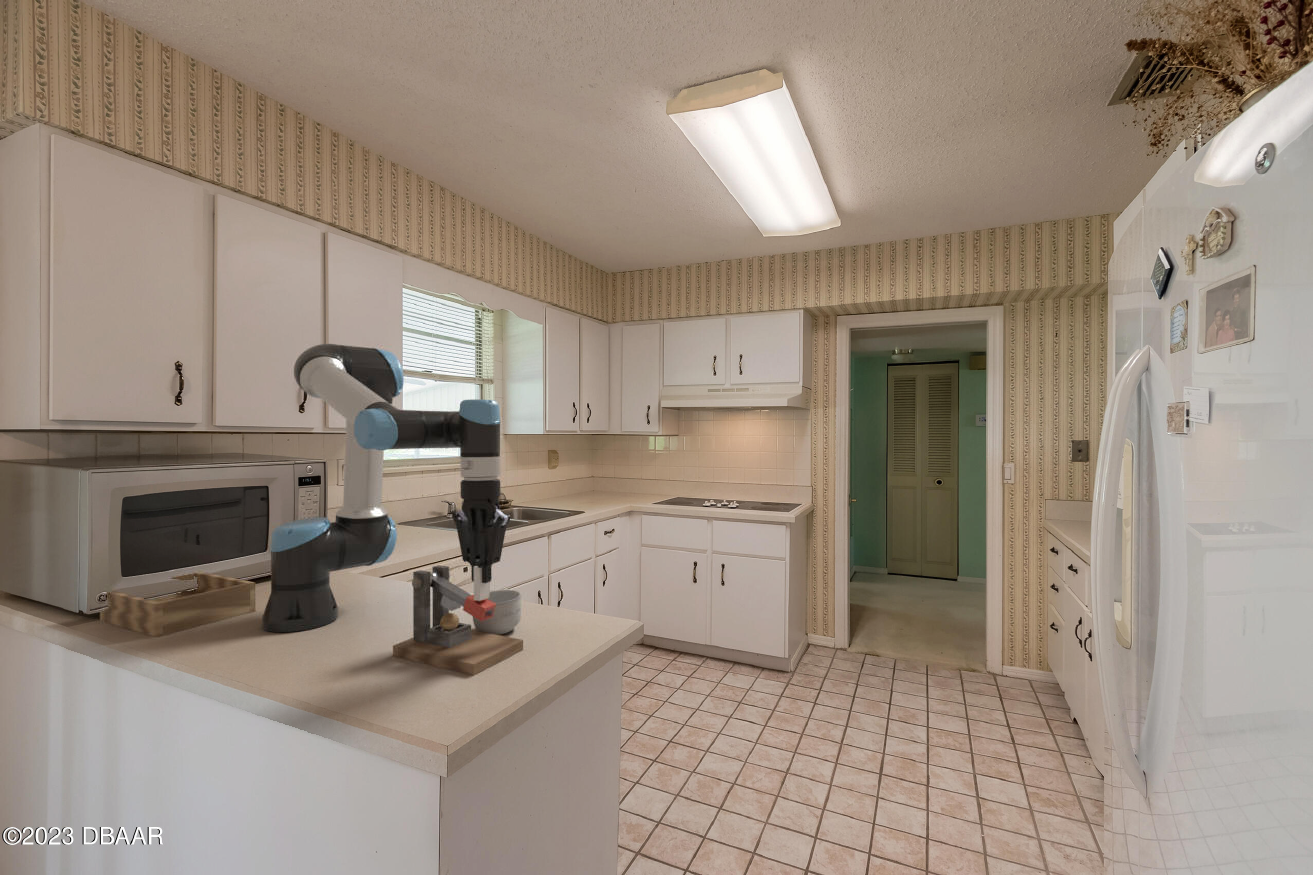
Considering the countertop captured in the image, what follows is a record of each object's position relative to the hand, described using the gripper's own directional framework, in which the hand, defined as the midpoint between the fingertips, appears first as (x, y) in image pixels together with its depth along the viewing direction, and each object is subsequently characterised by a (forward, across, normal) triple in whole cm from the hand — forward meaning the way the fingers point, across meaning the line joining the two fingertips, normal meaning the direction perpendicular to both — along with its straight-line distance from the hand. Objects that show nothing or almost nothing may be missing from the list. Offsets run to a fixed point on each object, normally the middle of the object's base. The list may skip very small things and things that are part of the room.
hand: (481, 598), depth 116 cm
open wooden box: (+10, -83, -12) cm, 84 cm away
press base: (+12, -6, 0) cm, 13 cm away
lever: (+3, -7, 0) cm, 8 cm away
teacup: (+12, -9, +15) cm, 21 cm away
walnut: (+6, -8, 0) cm, 10 cm away
